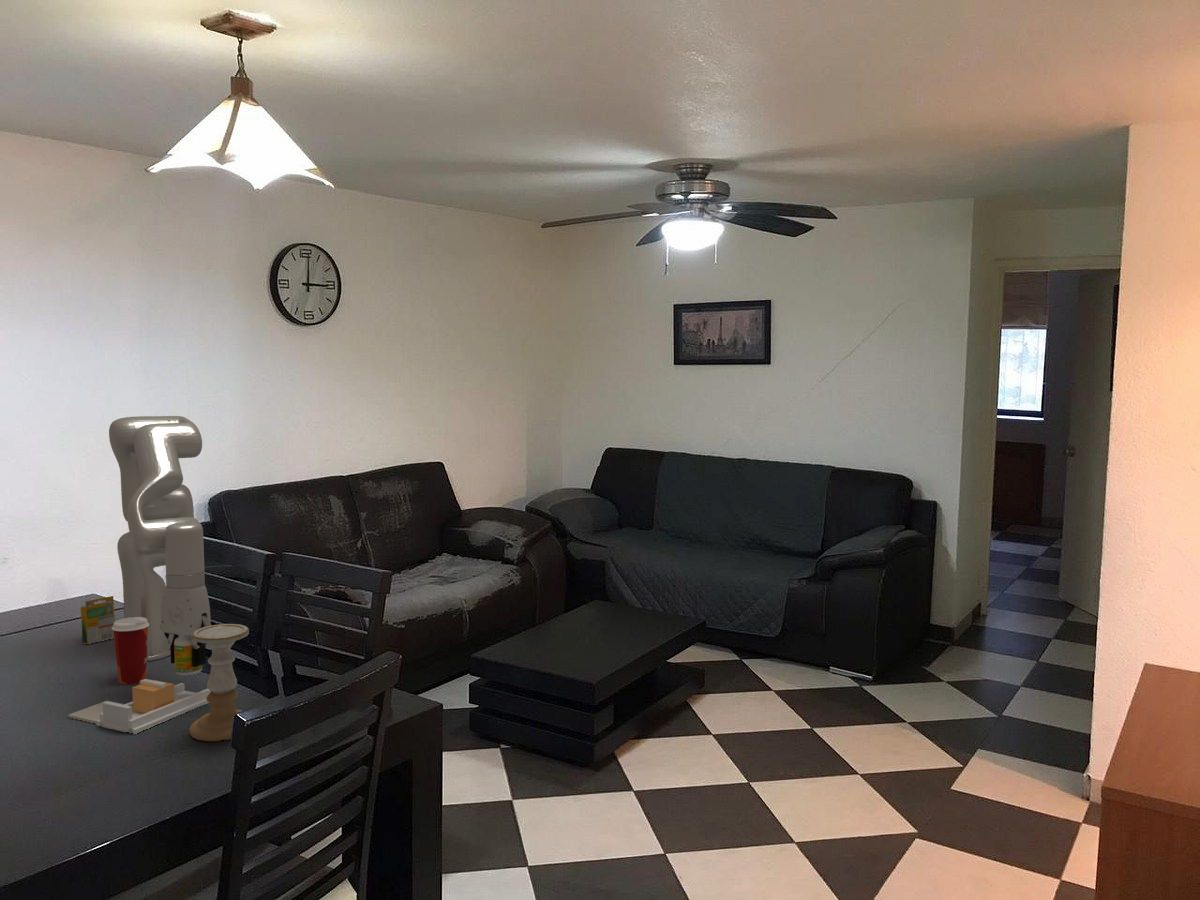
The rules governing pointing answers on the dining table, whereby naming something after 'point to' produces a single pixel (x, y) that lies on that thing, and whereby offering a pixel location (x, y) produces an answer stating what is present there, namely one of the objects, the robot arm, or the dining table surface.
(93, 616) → the crayon box
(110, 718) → the guard channel
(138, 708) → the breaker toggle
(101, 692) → the dining table surface
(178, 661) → the supplement bottle
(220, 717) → the candle holder
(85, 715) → the pad
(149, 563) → the robot arm
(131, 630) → the paper cup
